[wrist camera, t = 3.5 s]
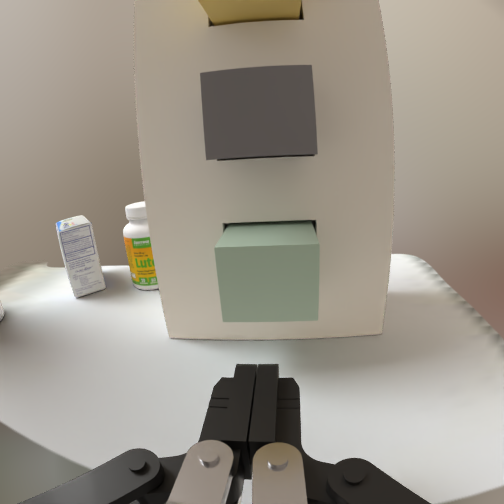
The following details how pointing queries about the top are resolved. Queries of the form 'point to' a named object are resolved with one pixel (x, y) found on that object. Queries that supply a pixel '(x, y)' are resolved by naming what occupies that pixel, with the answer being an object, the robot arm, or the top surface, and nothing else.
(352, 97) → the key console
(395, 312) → the top surface
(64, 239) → the medicine box
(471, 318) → the top surface
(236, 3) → the tan square block
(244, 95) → the charcoal key
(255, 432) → the robot arm
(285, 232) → the sage key
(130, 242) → the supplement bottle
